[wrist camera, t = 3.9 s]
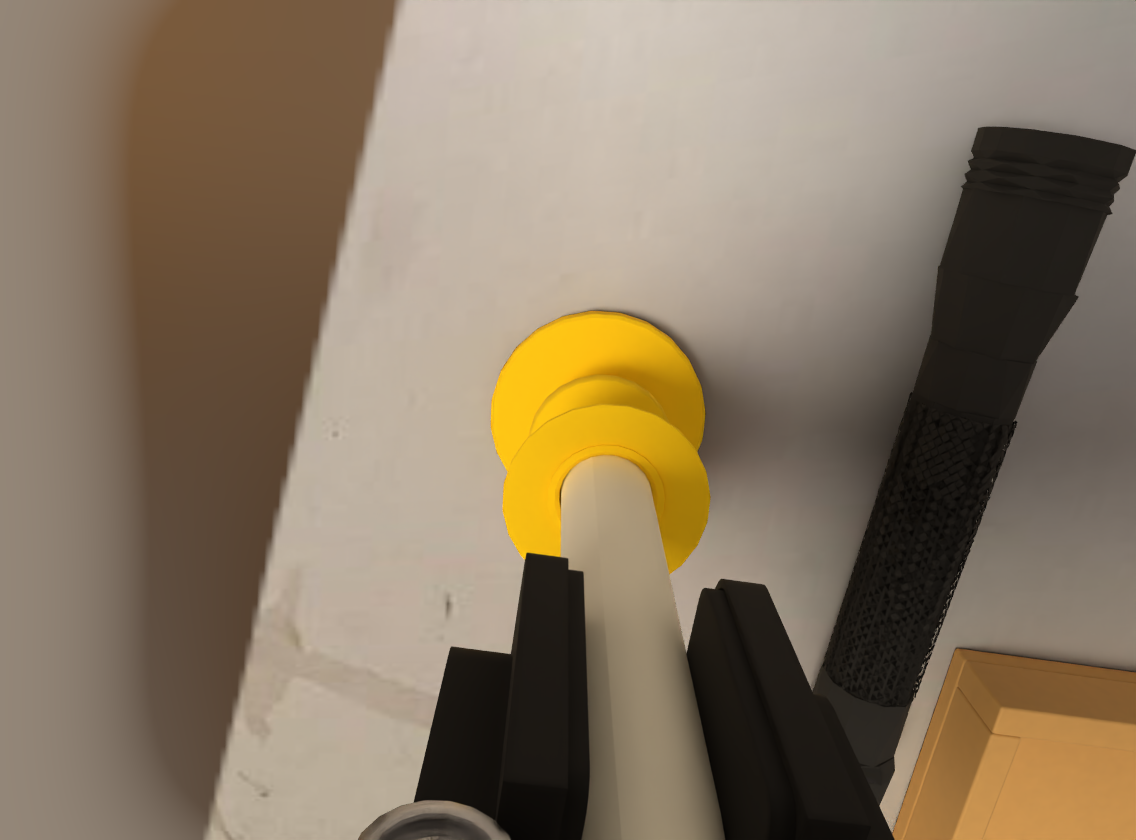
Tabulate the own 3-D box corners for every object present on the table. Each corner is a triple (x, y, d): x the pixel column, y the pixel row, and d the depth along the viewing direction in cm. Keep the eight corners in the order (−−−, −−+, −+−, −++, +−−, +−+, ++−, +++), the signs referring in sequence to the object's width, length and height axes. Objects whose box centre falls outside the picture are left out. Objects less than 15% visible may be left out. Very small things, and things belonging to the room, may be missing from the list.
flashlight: (1081, 153, 19) (1173, 153, 16) (868, 747, 24) (909, 829, 21) (953, 127, 19) (1023, 123, 16) (766, 731, 24) (793, 811, 21)
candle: (547, 272, 19) (479, 688, 5) (741, 367, 20) (1212, 989, 5) (458, 458, 21) (190, 1221, 6) (641, 541, 22) (795, 1399, 7)
